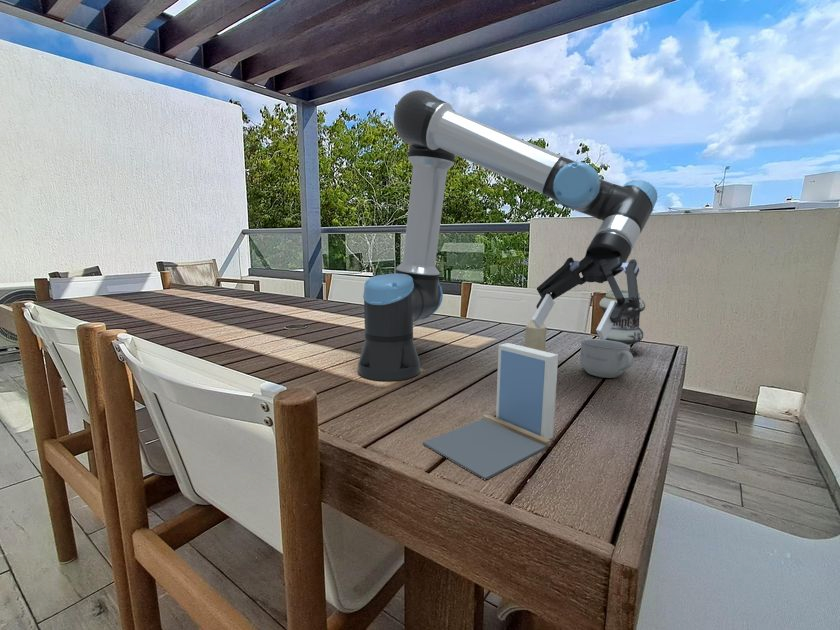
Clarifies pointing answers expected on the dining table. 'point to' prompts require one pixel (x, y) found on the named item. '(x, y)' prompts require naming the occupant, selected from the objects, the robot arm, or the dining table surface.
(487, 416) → the oak strip
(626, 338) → the apothecary jar
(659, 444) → the dining table surface
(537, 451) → the mat
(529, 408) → the tile
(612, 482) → the dining table surface
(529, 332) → the candle
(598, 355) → the teacup
